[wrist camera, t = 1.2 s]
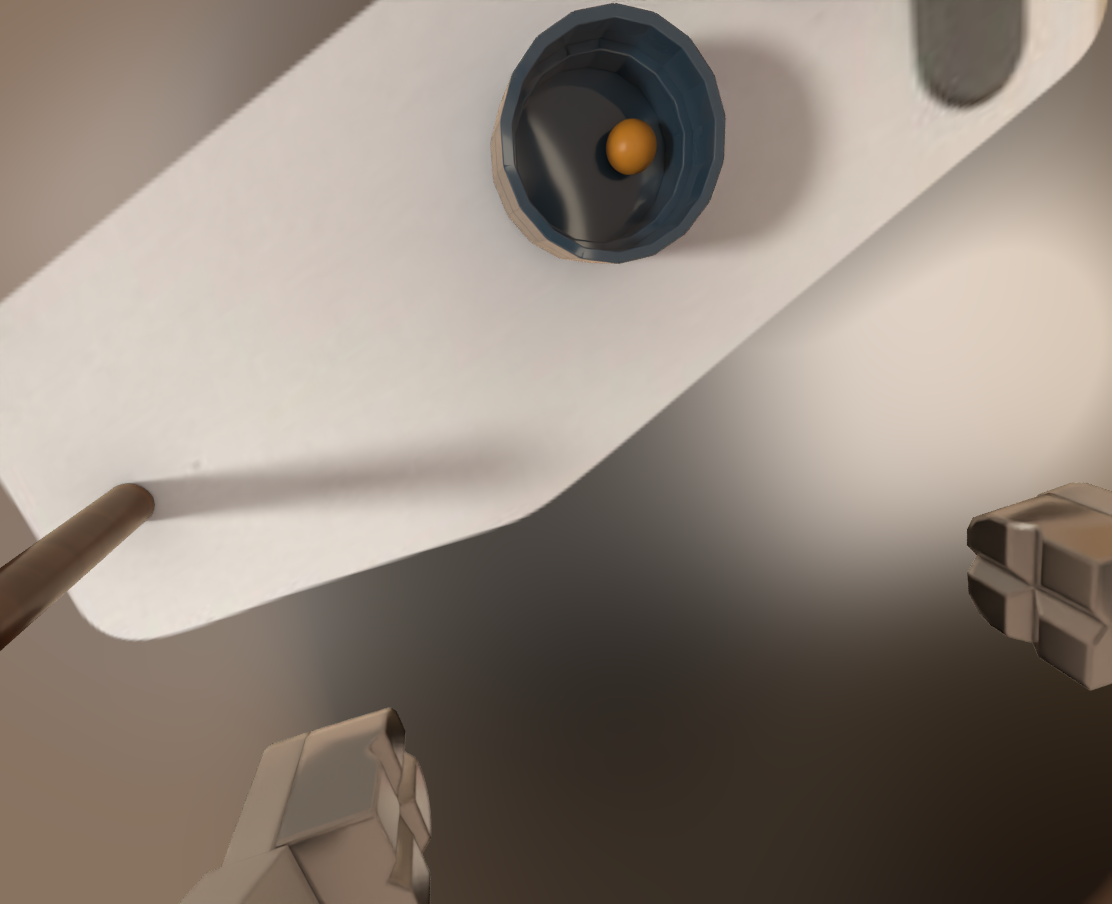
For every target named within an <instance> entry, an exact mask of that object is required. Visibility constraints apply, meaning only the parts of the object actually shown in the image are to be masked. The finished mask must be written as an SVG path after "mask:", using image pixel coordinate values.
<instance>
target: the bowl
mask: <svg viewBox="0 0 1112 904" xmlns="http://www.w3.org/2000/svg"><path fill="white" fill-rule="evenodd" d="M626 119H639V120H642V121H644V122H646V123H647V124H648V125H649V126H650V127H651V128H652V130H653V132H654V134H655V136H656V141H657V149H656V154H655V157H654V159H653V161H652V163H651V164H650V165H649V166H648V168H646V169H645V170H644V171H642V172H640V173H638V174H635V175H625V174H622V173H620V172H618V171H616V170H615V169H614V168H613V167H612V166H611V164H610V162H609V161H608V158H607V154H606V142H607V139H608V136H609V134H610V132H611V130H612V129H613V128H614V127H615V126H616V125H617V124H618V123H620V122H621V121H623V120H626ZM724 144H725V113H724V109H723V105H722V101H721V98H720V94H719V90H718V87H717V83H716V79H715V75H713V72H712V70H711V69H710V67H709V66H708V64H707V63H706V61H705V60H704V58H703V57H702V55H701V54H700V52H699V50H698V49H697V47H696V46H695V44H694V43H693V41H692V40H691V39H690V38H689V36H687V35H686V34H685V33H683V32H682V31H680V30H679V29H678V28H676V27H675V26H674V25H672V24H671V23H670V22H668V21H667V20H665V19H664V18H663V17H661V16H660V15H659V14H657V13H655V12H652V11H648V10H643V9H639V8H635V7H630V6H626V5H622V4H618V3H615V4H614V3H611V4H606V5H601V6H596V7H591V8H586V9H581V10H576V11H574V12H571V13H570V14H568V15H567V16H565V17H564V18H562V19H561V20H559V21H558V22H557V23H555V24H554V25H552V26H551V27H549V28H548V29H547V30H545V31H544V32H542V33H541V34H539V35H538V37H536V38H535V40H534V41H533V43H532V44H531V46H530V47H529V49H528V50H527V52H526V53H525V55H524V56H523V58H522V59H521V61H520V62H519V64H518V65H517V67H516V68H515V70H514V71H513V73H512V75H511V78H510V80H509V83H508V85H507V88H506V90H505V93H504V95H503V98H502V100H501V103H500V106H499V109H498V113H497V117H496V121H495V125H494V129H493V133H492V137H491V158H492V171H493V180H494V184H495V187H496V189H497V191H498V194H499V196H500V199H501V201H502V204H503V206H504V208H505V211H506V213H507V215H508V217H509V218H510V219H511V220H512V221H513V223H514V224H515V225H516V226H517V227H518V228H519V229H520V231H521V232H522V233H523V234H524V235H525V236H526V237H527V239H528V240H529V241H530V242H532V243H533V244H534V245H536V246H538V247H540V248H542V249H544V250H545V251H547V252H549V253H551V254H553V255H554V256H556V257H558V258H561V259H565V260H573V261H580V262H588V263H606V264H620V263H624V262H629V261H633V260H637V259H641V258H645V257H649V256H653V255H655V254H657V253H658V252H660V251H661V250H663V249H664V248H666V247H667V246H668V245H670V244H671V243H673V242H674V241H676V240H677V239H679V238H680V237H682V236H683V235H684V234H685V233H687V231H688V230H689V229H690V227H691V226H692V225H693V223H694V222H695V221H696V219H697V218H698V217H699V215H700V214H701V213H702V211H703V210H704V209H705V207H706V206H707V204H708V203H709V201H710V200H711V197H712V194H713V191H714V188H715V185H716V182H717V179H718V176H719V174H720V171H721V168H722V165H723V160H724Z"/></svg>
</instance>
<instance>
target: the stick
mask: <svg viewBox="0 0 1112 904" xmlns="http://www.w3.org/2000/svg"><path fill="white" fill-rule="evenodd" d="M153 511H154V501H153V498H152V496H151V495H150V493H149V492H148V491H146V490H145V489H144V488H142V487H140V486H137V485H134V484H122V485H118V486H116V487H114V488H113V489H111V490H110V491H108V492H107V493H106V494H104V495H103V496H101V497H100V498H99V499H97V500H96V501H94V502H93V503H92V504H90V505H89V506H87V507H86V508H84V509H83V510H82V511H80V512H79V513H77V514H76V515H75V516H73V517H72V518H70V519H69V520H67V521H66V522H65V523H63V524H62V525H60V526H59V527H58V528H56V529H55V530H53V531H52V532H50V533H49V534H48V535H46V536H45V537H43V538H42V539H41V540H39V541H38V542H36V543H35V544H34V545H32V546H31V547H29V548H28V549H27V550H25V551H24V552H22V553H21V554H19V555H18V556H17V557H15V558H14V559H12V560H11V561H10V562H8V563H7V564H5V565H4V566H2V567H1V568H0V651H1V650H2V649H3V648H4V647H5V646H6V645H7V644H9V643H10V642H11V641H12V640H13V639H14V638H15V637H16V636H17V635H19V634H20V633H21V632H22V631H23V630H24V629H25V628H26V627H28V626H29V625H30V624H31V623H32V622H33V621H34V620H35V619H36V618H38V617H39V616H40V615H41V614H42V613H43V612H44V611H45V610H46V609H48V608H49V607H50V606H51V605H52V604H53V603H54V602H55V601H56V600H58V599H59V598H60V597H61V596H62V595H63V594H64V593H65V592H67V591H68V590H69V589H70V588H71V587H72V586H73V585H74V584H76V583H77V582H78V581H79V580H80V579H81V578H82V577H83V576H84V575H86V574H87V573H88V572H89V571H90V570H91V569H92V568H93V567H95V566H96V565H97V564H98V563H99V562H100V561H101V560H102V559H103V558H105V557H106V556H107V555H108V554H109V553H110V552H111V551H112V550H113V549H115V548H116V547H117V546H118V545H119V544H120V543H121V542H122V541H124V540H125V539H126V538H127V537H128V536H129V535H130V534H131V533H132V532H134V531H135V530H136V529H137V528H138V527H139V526H140V525H141V524H143V523H144V522H145V521H146V520H147V519H148V518H149V517H150V516H151V515H152V513H153Z"/></svg>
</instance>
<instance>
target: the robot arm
mask: <svg viewBox="0 0 1112 904" xmlns="http://www.w3.org/2000/svg"><path fill="white" fill-rule="evenodd" d="M967 546H968V547H969V548H970V549H971V550H972V551H973V552H974V553H975V554H976V555H977V556H976V558H975V560H974V562H973V563H972V565H971V567H970V569H969V571H968V572H967V575H968V592H969V595H970V597H971V599H972V601H973V603H974V605H975V607H976V609H977V611H978V612H979V614H980V615H981V616H982V617H983V618H984V619H985V620H986V621H987V622H988V623H989V624H990V625H991V626H992V627H994V628H996V629H997V630H998V631H1000V632H1001V633H1003V634H1004V635H1006V636H1008V637H1011V638H1015V639H1019V640H1023V641H1028V642H1031V643H1033V644H1034V647H1035V649H1036V652H1037V654H1038V657H1039V658H1041V659H1042V660H1044V661H1045V662H1047V663H1049V664H1050V665H1052V666H1053V667H1055V668H1056V669H1058V670H1060V671H1061V672H1063V673H1064V674H1066V675H1067V676H1069V677H1070V678H1072V679H1073V680H1075V681H1076V682H1078V683H1079V684H1081V685H1082V686H1084V687H1086V688H1087V689H1089V690H1093V689H1096V688H1099V687H1102V686H1105V685H1108V684H1111V683H1112V491H1110V490H1107V489H1103V488H1101V487H1098V486H1095V485H1092V484H1088V483H1069V484H1067V485H1064V486H1061V487H1058V488H1055V489H1052V490H1050V491H1047V492H1044V493H1042V494H1039V495H1037V496H1036V497H1034V498H1031V499H1028V500H1025V501H1022V502H1019V503H1016V504H1013V505H1010V506H1007V507H1004V508H1000V509H997V510H995V511H991V512H988V513H985V514H982V515H979V516H976V517H973V518H972V520H971V523H970V525H969V527H968V529H967ZM404 746H405V729H404V727H403V725H402V723H401V720H400V718H399V716H398V714H397V712H396V711H395V710H394V709H392V708H390V707H389V708H386V709H382V710H380V711H376V712H373V713H369V714H366V715H363V716H359V717H356V718H353V719H349V720H346V721H343V722H339V723H336V724H333V725H330V726H326V727H323V728H320V729H316V730H313V731H312V732H309V733H304V734H301V735H298V736H295V737H292V738H289V739H285V740H282V741H279V742H276V743H273V744H272V745H270V746H269V747H268V748H267V749H266V750H265V751H264V752H263V755H262V757H261V760H260V762H259V765H258V768H257V770H256V773H255V776H254V779H253V782H252V784H251V787H250V790H249V792H248V795H247V798H246V800H245V803H244V806H243V808H242V811H241V814H240V817H239V820H238V822H237V825H236V828H235V830H234V833H233V836H232V839H231V841H230V844H229V847H228V849H227V852H226V855H225V858H224V860H223V863H222V866H221V868H218V869H215V870H213V871H210V872H207V873H206V874H205V875H204V876H203V877H202V878H201V879H200V880H199V882H198V883H197V884H196V885H195V886H194V887H193V888H192V889H191V890H190V892H189V893H188V894H187V895H186V896H185V897H184V898H183V899H182V900H181V901H180V903H179V904H430V876H431V874H430V871H429V869H428V867H427V864H426V862H425V860H424V857H423V855H422V853H423V851H424V849H425V848H426V846H427V844H428V843H429V841H430V839H431V813H430V805H429V799H428V791H427V787H426V784H425V780H424V777H423V773H422V770H421V768H420V765H419V763H418V760H417V758H415V757H414V756H412V755H410V754H408V753H406V752H405V751H404Z"/></svg>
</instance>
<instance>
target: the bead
mask: <svg viewBox="0 0 1112 904" xmlns="http://www.w3.org/2000/svg"><path fill="white" fill-rule="evenodd" d="M656 149H657V141H656V136H655V134H654V132H653V130H652V128H651V127H650V126H649V125H648V124H647V123H646V122H644V121H642V120H639V119H626V120H623V121H621V122H620V123H618V124H617V125H616V126H615V127H614V128H613V129H612V130H611V132H610V134H609V136H608V139H607V142H606V154H607V158H608V161H609V162H610V164H611V166H612V167H613V168H614V169H615V170H616V171H618V172H620V173H622V174H625V175H635V174H638V173H640V172H642V171H644V170H645V169H646V168H648V166H649V165H650V164H651V163H652V161H653V159H654V157H655V154H656Z"/></svg>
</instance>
